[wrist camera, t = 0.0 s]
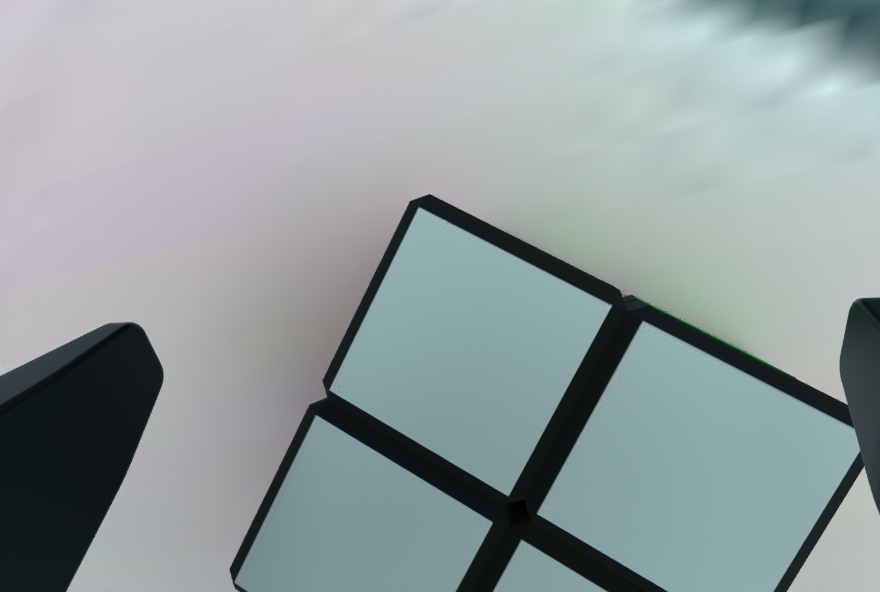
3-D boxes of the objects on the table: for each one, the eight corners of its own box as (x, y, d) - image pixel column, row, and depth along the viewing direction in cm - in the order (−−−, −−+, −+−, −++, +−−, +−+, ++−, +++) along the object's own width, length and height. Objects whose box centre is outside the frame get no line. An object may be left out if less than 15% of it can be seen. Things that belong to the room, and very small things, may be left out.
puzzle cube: (368, 468, 25) (215, 587, 15) (491, 224, 24) (410, 183, 14) (616, 620, 23) (624, 871, 13) (766, 362, 21) (898, 427, 12)
